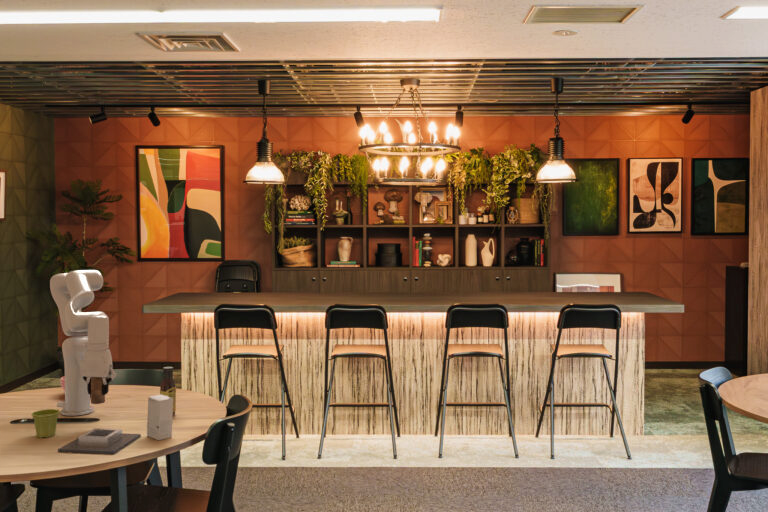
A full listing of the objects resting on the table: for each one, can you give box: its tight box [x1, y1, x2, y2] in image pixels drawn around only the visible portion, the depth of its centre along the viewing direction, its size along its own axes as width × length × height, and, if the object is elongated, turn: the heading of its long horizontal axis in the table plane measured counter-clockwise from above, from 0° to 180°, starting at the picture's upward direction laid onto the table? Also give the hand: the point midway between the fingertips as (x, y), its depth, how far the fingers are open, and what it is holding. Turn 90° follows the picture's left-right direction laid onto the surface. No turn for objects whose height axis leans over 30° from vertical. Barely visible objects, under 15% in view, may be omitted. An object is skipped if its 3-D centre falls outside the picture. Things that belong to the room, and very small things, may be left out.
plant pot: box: [31, 408, 61, 439], centre depth 251 cm, size 9×9×9 cm
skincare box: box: [146, 394, 174, 441], centre depth 251 cm, size 8×6×15 cm
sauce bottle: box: [159, 366, 177, 417], centre depth 279 cm, size 6×6×20 cm
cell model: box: [60, 375, 65, 392], centre depth 314 cm, size 17×20×11 cm
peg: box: [90, 377, 106, 405], centre depth 262 cm, size 5×5×10 cm
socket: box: [57, 427, 142, 455], centre depth 242 cm, size 20×20×4 cm
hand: (98, 393), depth 262 cm, fingers closed on peg, 5 cm apart
